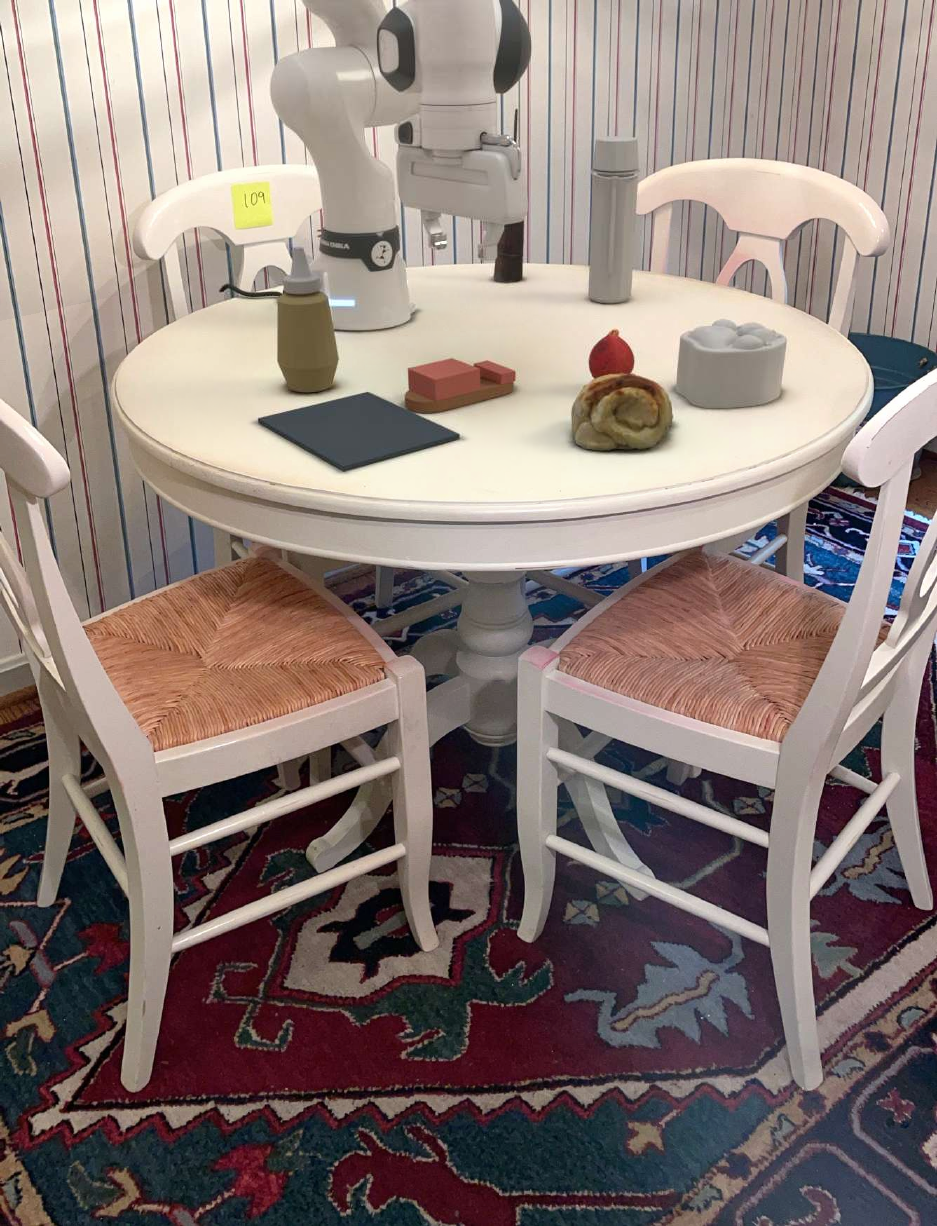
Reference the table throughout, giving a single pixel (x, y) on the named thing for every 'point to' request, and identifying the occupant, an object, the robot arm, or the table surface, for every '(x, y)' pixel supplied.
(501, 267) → the butter churn
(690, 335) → the lumpy-topped squat cylinder
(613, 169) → the water bottle
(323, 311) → the squeeze bottle
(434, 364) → the slipper
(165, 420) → the table surface
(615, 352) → the onion
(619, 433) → the pastry
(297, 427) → the mat
